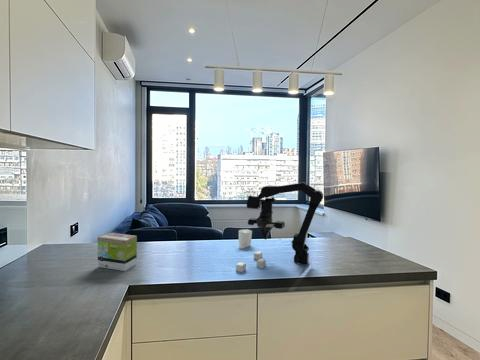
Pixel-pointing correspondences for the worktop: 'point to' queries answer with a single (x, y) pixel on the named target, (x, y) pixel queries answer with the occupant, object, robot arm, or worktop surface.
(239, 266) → the near slider
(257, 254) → the block
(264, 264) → the middle slider
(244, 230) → the white cup
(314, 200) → the robot arm
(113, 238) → the tea box
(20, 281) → the worktop surface
